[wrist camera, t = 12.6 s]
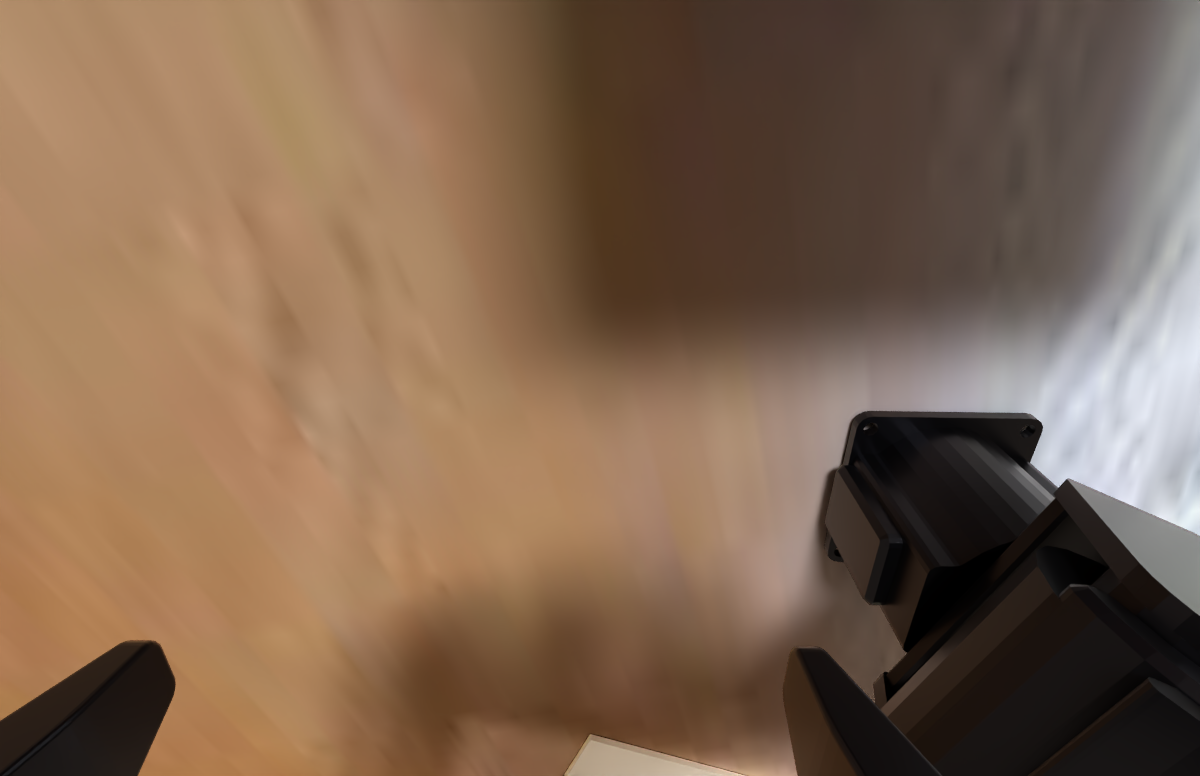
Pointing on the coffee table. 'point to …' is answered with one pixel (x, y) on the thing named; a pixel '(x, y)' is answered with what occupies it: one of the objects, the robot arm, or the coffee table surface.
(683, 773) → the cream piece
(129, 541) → the coffee table surface
